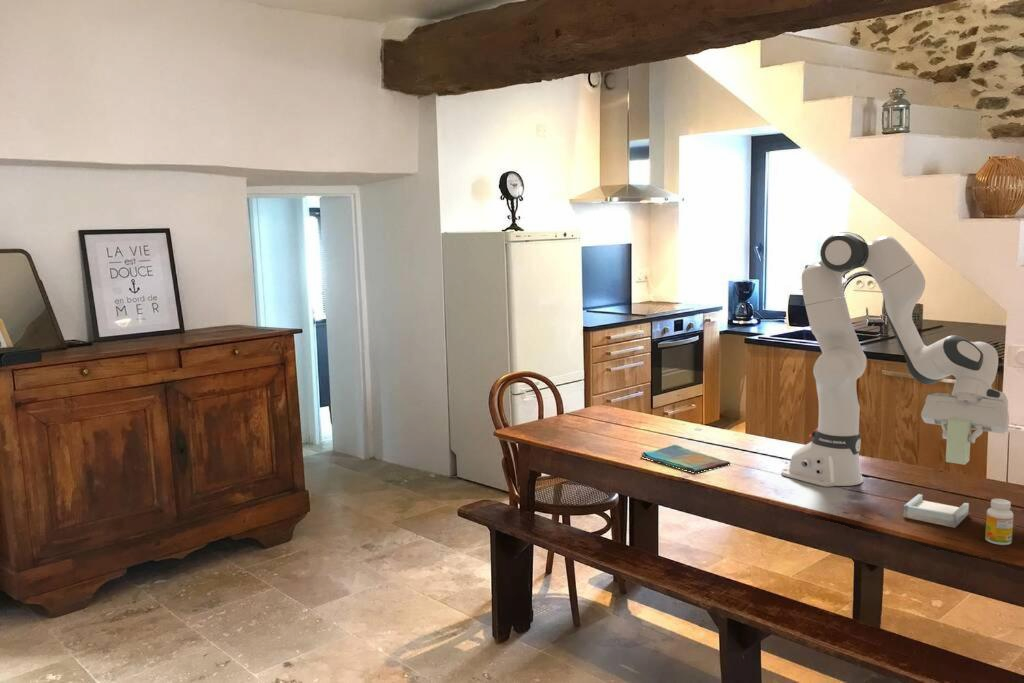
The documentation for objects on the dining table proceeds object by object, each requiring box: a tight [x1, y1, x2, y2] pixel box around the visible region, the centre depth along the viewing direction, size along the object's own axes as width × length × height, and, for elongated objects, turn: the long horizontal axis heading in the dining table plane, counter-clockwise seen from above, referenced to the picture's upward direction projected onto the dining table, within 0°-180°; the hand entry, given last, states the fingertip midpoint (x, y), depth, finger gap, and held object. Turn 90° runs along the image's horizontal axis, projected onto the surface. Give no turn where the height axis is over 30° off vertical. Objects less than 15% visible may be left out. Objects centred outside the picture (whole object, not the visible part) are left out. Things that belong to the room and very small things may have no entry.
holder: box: [902, 493, 970, 529], centre depth 211 cm, size 12×12×3 cm
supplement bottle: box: [984, 498, 1014, 546], centre depth 193 cm, size 5×5×10 cm
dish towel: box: [641, 444, 731, 474], centre depth 264 cm, size 17×23×2 cm
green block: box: [945, 418, 972, 466], centre depth 215 cm, size 4×4×11 cm
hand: (958, 439), depth 214 cm, fingers closed on green block, 4 cm apart
